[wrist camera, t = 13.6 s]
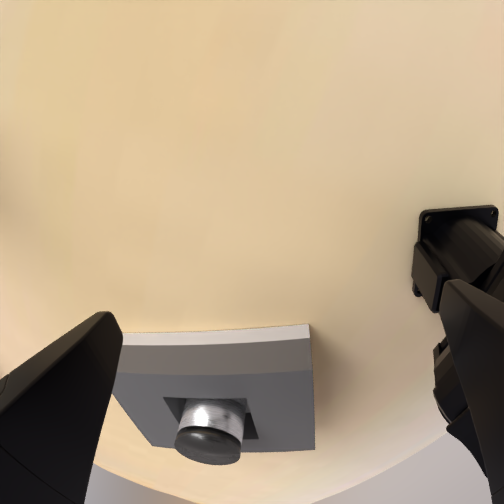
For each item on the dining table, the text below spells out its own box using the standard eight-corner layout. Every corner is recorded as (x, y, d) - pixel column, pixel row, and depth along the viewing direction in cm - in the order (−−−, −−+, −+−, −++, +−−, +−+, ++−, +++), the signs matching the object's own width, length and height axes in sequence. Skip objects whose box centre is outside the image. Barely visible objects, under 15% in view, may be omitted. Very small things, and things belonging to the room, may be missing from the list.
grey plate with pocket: (308, 323, 23) (312, 369, 19) (313, 411, 29) (315, 449, 25) (116, 332, 26) (96, 370, 22) (162, 412, 31) (152, 446, 27)
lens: (241, 374, 24) (231, 438, 19) (252, 408, 27) (245, 466, 21) (182, 375, 25) (164, 434, 20) (199, 408, 28) (186, 462, 22)
